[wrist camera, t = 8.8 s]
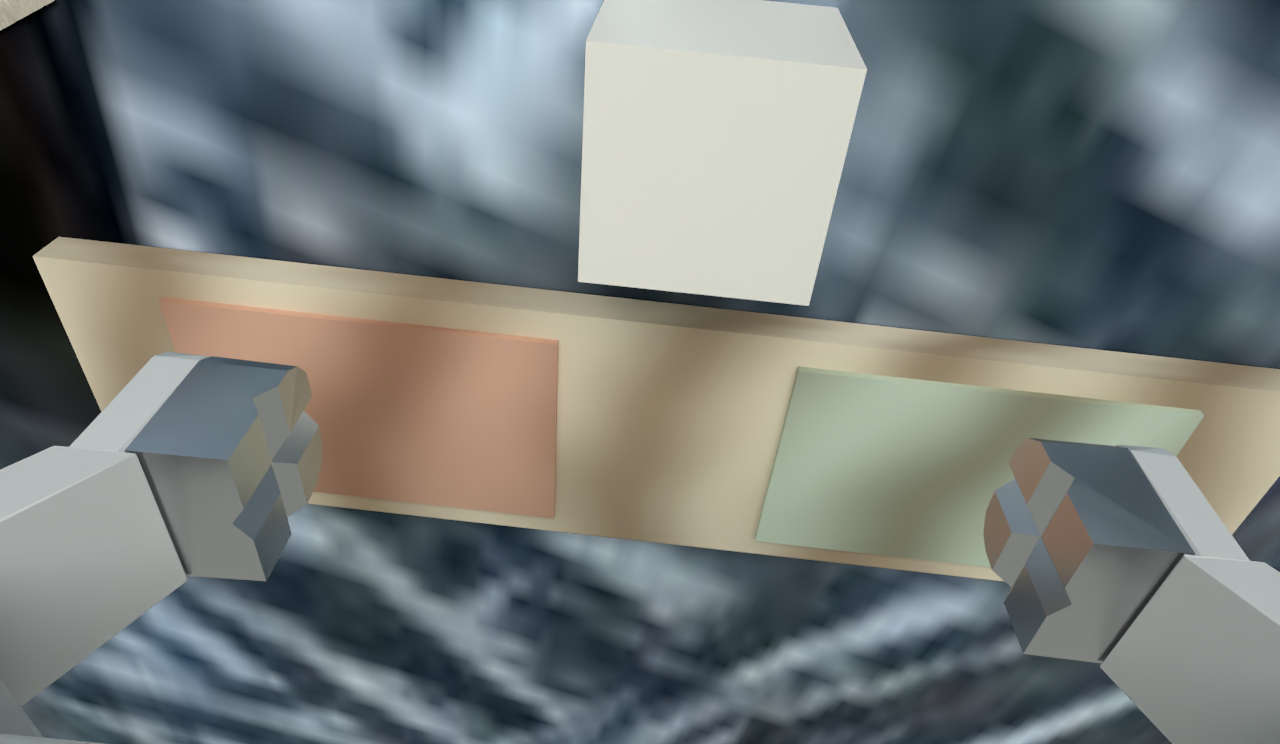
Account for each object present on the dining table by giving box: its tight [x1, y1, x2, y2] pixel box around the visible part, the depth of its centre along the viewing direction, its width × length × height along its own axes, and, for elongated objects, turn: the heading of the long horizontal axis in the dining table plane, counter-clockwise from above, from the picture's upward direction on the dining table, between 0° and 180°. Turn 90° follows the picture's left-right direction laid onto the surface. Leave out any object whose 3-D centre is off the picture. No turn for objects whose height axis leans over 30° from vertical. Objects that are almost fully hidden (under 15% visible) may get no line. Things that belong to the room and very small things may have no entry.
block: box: [578, 0, 867, 306], centre depth 16 cm, size 4×4×4 cm
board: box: [33, 237, 1280, 581], centre depth 22 cm, size 32×8×1 cm, turn 85°
